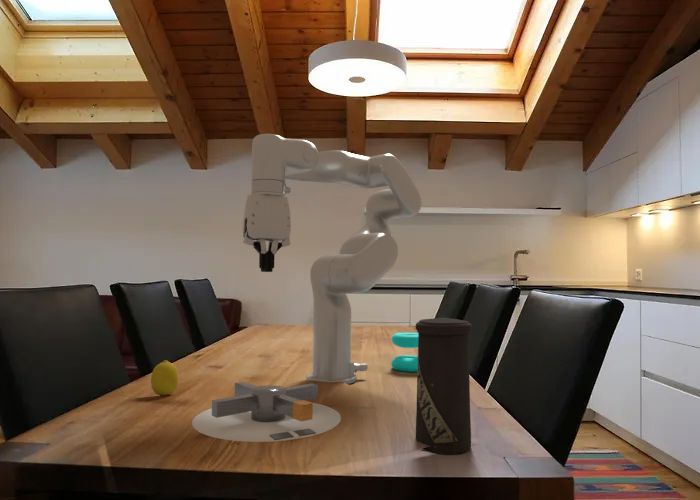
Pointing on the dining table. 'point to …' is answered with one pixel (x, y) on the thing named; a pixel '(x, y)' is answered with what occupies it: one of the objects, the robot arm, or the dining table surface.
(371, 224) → the robot arm
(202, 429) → the stand
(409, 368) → the donuts
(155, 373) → the lemon
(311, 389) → the capstan
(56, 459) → the dining table surface
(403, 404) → the dining table surface
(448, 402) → the container
